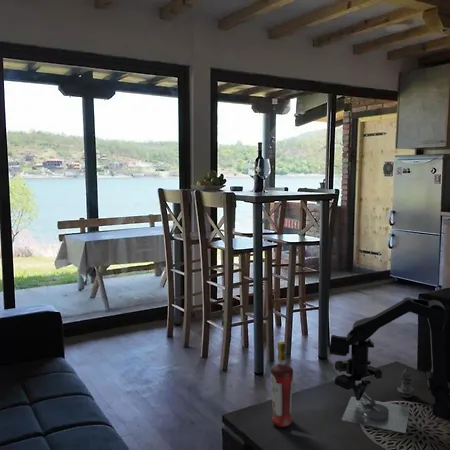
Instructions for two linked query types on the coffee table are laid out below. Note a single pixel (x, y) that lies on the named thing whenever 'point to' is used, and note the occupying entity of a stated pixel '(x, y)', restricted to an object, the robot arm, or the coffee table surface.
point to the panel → (394, 421)
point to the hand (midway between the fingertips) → (357, 400)
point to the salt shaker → (406, 385)
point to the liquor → (281, 389)
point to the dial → (374, 409)
